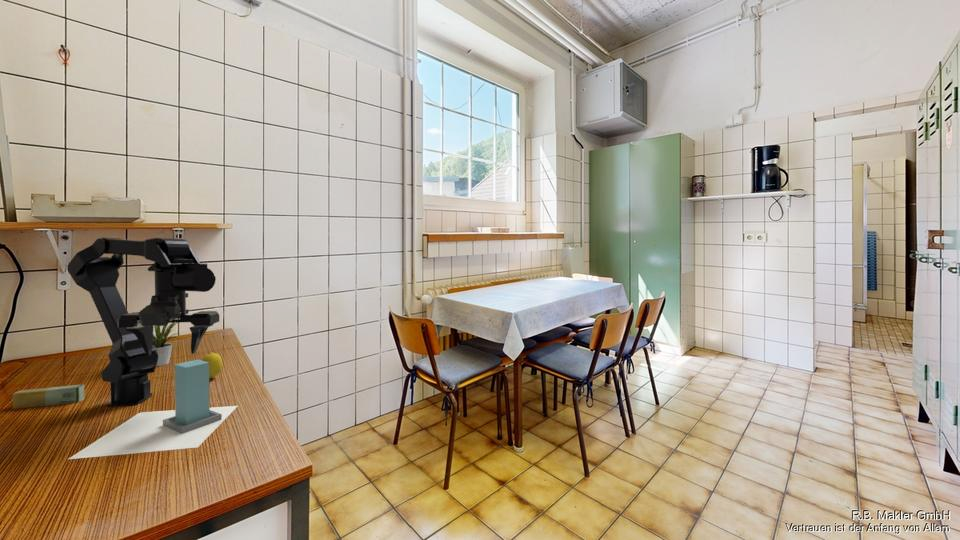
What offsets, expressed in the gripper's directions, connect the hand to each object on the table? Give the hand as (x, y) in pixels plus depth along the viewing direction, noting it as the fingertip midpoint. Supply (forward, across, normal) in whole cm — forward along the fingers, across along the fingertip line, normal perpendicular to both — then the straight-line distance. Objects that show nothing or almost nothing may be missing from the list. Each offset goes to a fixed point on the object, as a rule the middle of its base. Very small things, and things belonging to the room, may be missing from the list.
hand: (171, 354), depth 91 cm
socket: (+12, +10, -13) cm, 20 cm away
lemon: (+13, 0, +21) cm, 25 cm away
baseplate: (+13, +6, -15) cm, 21 cm away
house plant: (+13, -22, +41) cm, 48 cm away
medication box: (+13, -30, +8) cm, 34 cm away
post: (+12, +10, -13) cm, 20 cm away
